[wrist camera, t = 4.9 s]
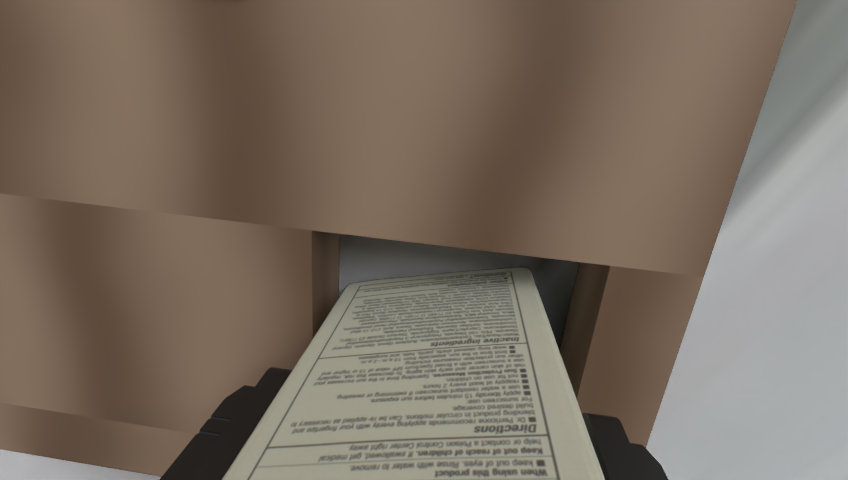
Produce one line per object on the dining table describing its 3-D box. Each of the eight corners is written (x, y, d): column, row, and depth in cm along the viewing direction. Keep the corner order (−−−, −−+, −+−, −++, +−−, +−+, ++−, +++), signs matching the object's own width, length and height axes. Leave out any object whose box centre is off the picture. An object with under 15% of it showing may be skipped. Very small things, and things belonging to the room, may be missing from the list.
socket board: (928, -667, 7) (1176, -1081, 5) (590, 485, 16) (611, 559, 14) (-223, -613, 9) (-501, -890, 6) (51, 399, 18) (-19, 451, 15)
